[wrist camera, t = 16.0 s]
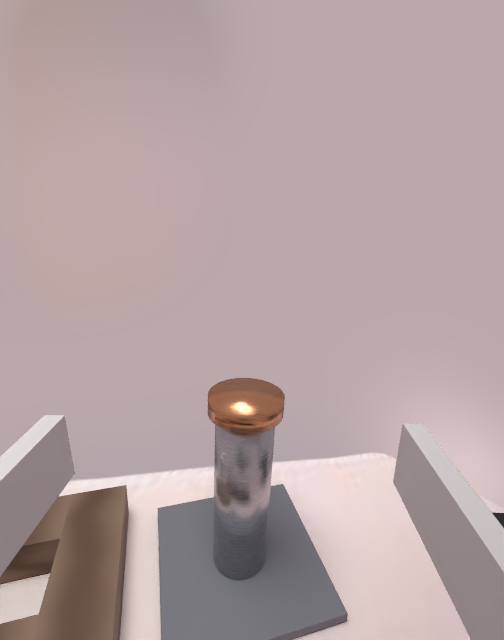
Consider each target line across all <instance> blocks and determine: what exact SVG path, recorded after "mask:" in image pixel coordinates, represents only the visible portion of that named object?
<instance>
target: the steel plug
mask: <svg viewBox="0 0 504 640" xmlns="http://www.w3.org/2000/svg"><path fill="white" fill-rule="evenodd" d="M284 398H285V397H284V394H283V392H282V390H281V389H279V388H278V387H277V386H275V385H273V384H271V383H269V382H266V381H263V380H258V379H252V378H236V379H229V380H225V381H222V382H220V383H217V384H216V385H214V386H213V387H212V388H211V389H210V390H209V392H208V416H209V418H210V420H211V421H212V422H213V423H214V424H215V470H214V528H213V560H214V563H215V566H216V567H217V569H218V570H219V571H220V572H221V573H222V574H223V575H225V576H226V577H228V578H231V579H236V580H243V579H248V578H250V577H252V576H254V575H256V574H257V573H258V572H259V571H260V570H261V569H262V567H263V565H264V563H265V558H266V546H267V531H268V517H269V503H270V488H271V474H272V459H273V445H274V430H275V426H277V425H278V424H279V423H280V422H281V421H282V418H283V411H284Z"/></svg>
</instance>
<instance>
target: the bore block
mask: <svg viewBox="0 0 504 640" xmlns="http://www.w3.org/2000/svg"><path fill="white" fill-rule="evenodd" d="M128 513H129V512H128V500H127V489H126V485H124V486H119V487H113V488H107V489H101V490H95V491H89V492H83V493H77V494H72V495H66V496H60V497H57V499H56V500H55V501H54V503H53V504H52V506H51V507H50V508H49V510H48V511H47V513H46V514H45V515H44V517H43V518H42V519H41V521H40V522H39V524H38V525H37V526H36V528H35V529H34V531H33V532H32V533H31V535H30V536H29V537H28V539H27V540H26V542H25V543H24V544H23V546H22V547H21V549H20V550H19V551H18V553H17V554H16V556H15V557H14V558H13V560H12V561H11V562H10V564H9V565H8V567H7V568H6V569H5V571H4V572H3V574H2V575H1V576H0V584H2V583H7V582H11V581H15V580H20V579H24V578H29V577H33V576H38V575H42V574H47V573H50V576H49V580H48V583H47V587H46V591H45V594H44V598H43V601H42V605H41V609H40V612H39V614H38V615H34V616H30V617H26V618H22V619H18V620H14V621H10V622H6V623H2V624H0V640H119V638H120V624H121V610H122V596H123V583H124V569H125V555H126V541H127V527H128Z"/></svg>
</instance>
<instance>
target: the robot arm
mask: <svg viewBox="0 0 504 640" xmlns="http://www.w3.org/2000/svg"><path fill="white" fill-rule="evenodd" d="M74 474H75V472H74V466H73V461H72V456H71V450H70V444H69V438H68V432H67V427H66V421H65V416H64V415H45V416H44V417H43V418H42V419H40V420H39V421H38V422H37V423H36V424H35V425H34V426H33V427H32V428H31V429H30V430H29V431H28V432H26V433H25V434H24V435H23V436H22V437H21V438H20V439H19V440H18V441H17V442H16V443H15V444H14V445H12V446H11V447H10V448H9V449H8V450H7V451H6V452H5V453H4V454H3V455H2V456H1V457H0V576H1V575H2V574H3V572H4V571H5V569H6V568H7V567H8V565H9V564H10V562H11V561H12V560H13V558H14V557H15V556H16V554H17V553H18V551H19V550H20V549H21V547H22V546H23V544H24V543H25V542H26V540H27V539H28V537H29V536H30V535H31V533H32V532H33V531H34V529H35V528H36V526H37V525H38V524H39V522H40V521H41V519H42V518H43V517H44V515H45V514H46V513H47V511H48V510H49V508H50V507H51V506H52V504H53V503H54V501H55V500H56V499H57V497H58V496H59V494H60V493H61V492H62V490H63V489H64V488H65V486H66V485H67V483H68V482H69V481H70V479H71V478H72V476H73V475H74ZM393 482H394V484H395V486H396V489H397V491H398V493H399V495H400V497H401V499H402V501H403V503H404V505H405V507H406V509H407V511H408V513H409V515H410V517H411V519H412V521H413V523H414V525H415V527H416V529H417V531H418V533H419V535H420V537H421V539H422V541H423V543H424V545H425V547H426V549H427V551H428V553H429V555H430V557H431V559H432V561H433V563H434V565H435V567H436V569H437V571H438V573H439V576H440V578H441V580H442V582H443V584H444V586H445V588H446V590H447V592H448V594H449V596H450V598H451V600H452V602H453V604H454V606H455V608H456V610H457V612H458V614H459V616H460V618H461V620H462V622H463V624H464V626H465V628H466V630H467V632H468V634H469V636H470V638H471V640H504V513H492V512H491V511H490V510H489V509H488V507H487V506H486V505H485V503H484V502H483V501H482V499H481V498H480V497H479V496H478V494H477V493H476V492H475V490H474V489H473V488H472V487H471V485H470V484H469V483H468V481H467V480H466V479H465V477H464V476H463V475H462V474H461V472H460V471H459V470H458V468H457V467H456V466H455V465H454V463H453V462H452V461H451V459H450V458H449V457H448V456H447V454H446V453H445V452H444V451H443V449H442V448H441V446H440V445H439V444H438V443H437V441H436V440H435V439H434V437H433V436H432V435H431V434H430V432H429V431H428V430H427V428H426V427H425V426H424V425H423V424H409V423H403V425H402V432H401V438H400V444H399V450H398V456H397V462H396V468H395V474H394V480H393Z"/></svg>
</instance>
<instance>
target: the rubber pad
mask: <svg viewBox="0 0 504 640" xmlns="http://www.w3.org/2000/svg"><path fill="white" fill-rule="evenodd" d="M213 528H214V498H208V499H203V500H198V501H193V502H187V503H182V504H177V505H172V506H167V507H161V508H158V531H159V568H160V605H161V640H291V639H294V638H297V637H300V636H303V635H306V634H309V633H312V632H315V631H318V630H321V629H324V628H327V627H330V626H333V625H336V624H340V623H343V622H346V621H347V615H348V614H347V612H346V610H345V608H344V606H343V604H342V602H341V600H340V598H339V596H338V594H337V592H336V590H335V588H334V586H333V584H332V582H331V580H330V578H329V576H328V573H327V571H326V569H325V567H324V565H323V563H322V561H321V559H320V557H319V555H318V553H317V551H316V549H315V547H314V545H313V543H312V541H311V539H310V537H309V535H308V533H307V531H306V529H305V527H304V525H303V523H302V521H301V519H300V517H299V515H298V513H297V511H296V509H295V507H294V505H293V503H292V501H291V499H290V497H289V495H288V493H287V491H286V489H285V487H284V485H283V484H281V485H276V486H271V488H270V503H269V517H268V531H267V546H266V558H265V563H264V565H263V567H262V569H261V570H260V571H259V572H258V573H257V574H256V575H254V576H252V577H250V578H248V579H243V580H236V579H231V578H228V577H226V576H225V575H223V574H222V573H221V572H220V571H219V570H218V569H217V567H216V566H215V563H214V560H213Z"/></svg>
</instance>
